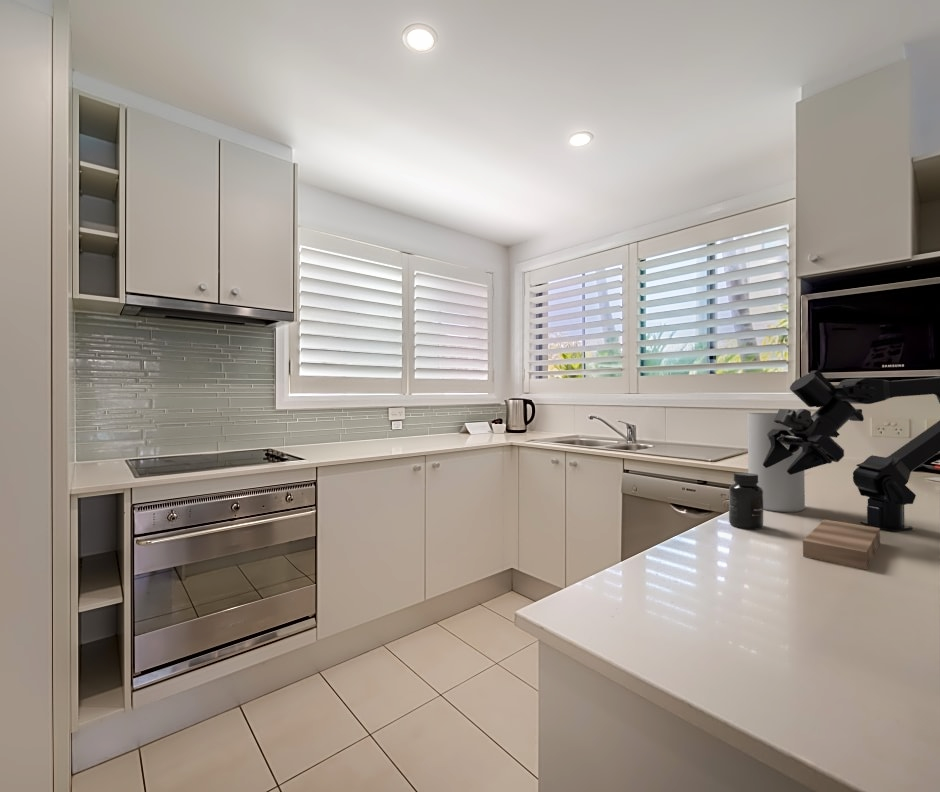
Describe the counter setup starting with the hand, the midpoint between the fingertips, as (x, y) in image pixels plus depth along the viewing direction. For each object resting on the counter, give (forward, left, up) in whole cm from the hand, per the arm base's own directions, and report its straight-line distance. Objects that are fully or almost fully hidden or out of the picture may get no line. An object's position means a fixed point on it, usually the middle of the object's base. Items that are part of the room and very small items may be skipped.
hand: (775, 469), depth 104 cm
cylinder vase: (-15, -14, -13) cm, 25 cm away
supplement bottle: (+6, -2, -13) cm, 15 cm away
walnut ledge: (+1, +16, -13) cm, 21 cm away
